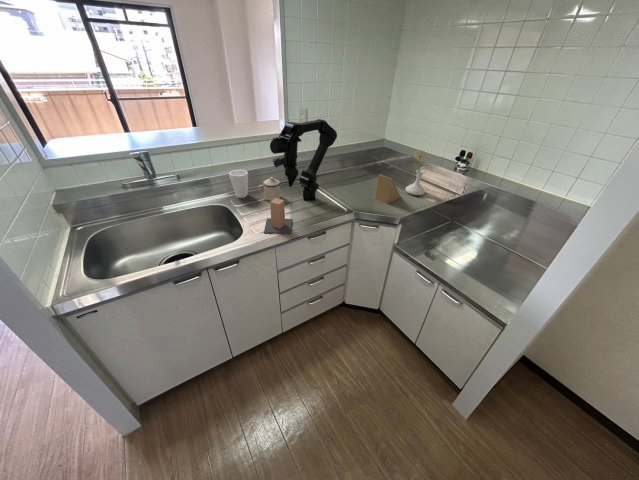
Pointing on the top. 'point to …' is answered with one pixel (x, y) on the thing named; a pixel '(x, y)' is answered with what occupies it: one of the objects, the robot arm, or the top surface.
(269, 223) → the black mat
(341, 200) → the top surface
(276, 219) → the terracotta block
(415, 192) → the flower in vase
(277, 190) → the teacup with lid
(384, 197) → the sandwich container
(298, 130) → the robot arm
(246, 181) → the foam cup
